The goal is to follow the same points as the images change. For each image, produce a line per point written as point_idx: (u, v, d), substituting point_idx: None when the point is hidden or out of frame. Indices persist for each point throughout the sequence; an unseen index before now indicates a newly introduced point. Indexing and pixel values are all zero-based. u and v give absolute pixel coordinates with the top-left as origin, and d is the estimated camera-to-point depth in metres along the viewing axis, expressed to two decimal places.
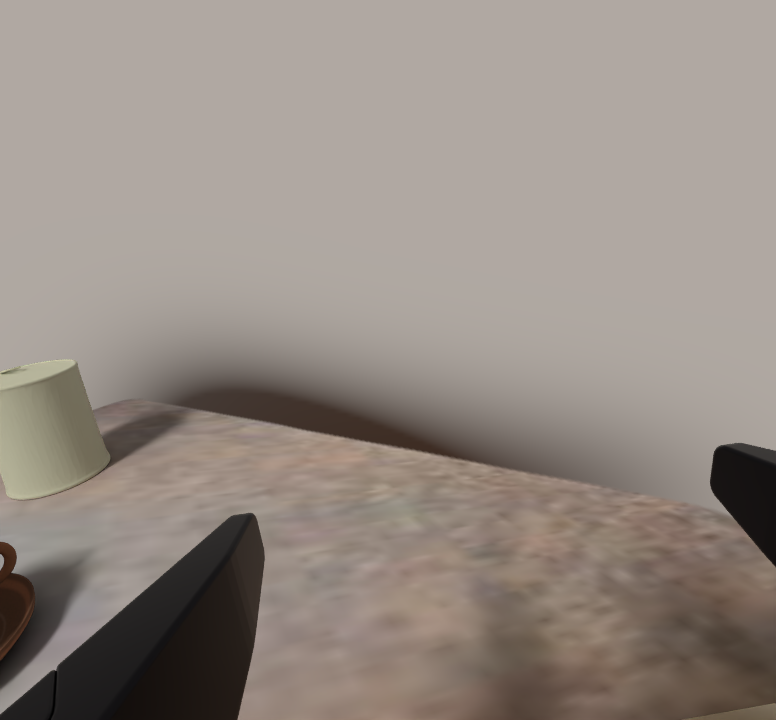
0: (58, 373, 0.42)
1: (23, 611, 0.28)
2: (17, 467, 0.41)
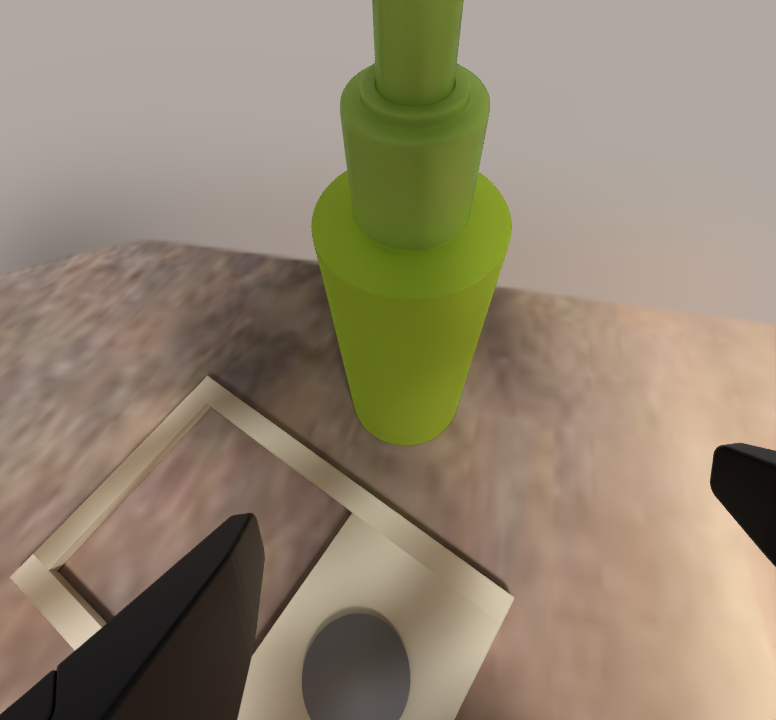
0: None
1: None
2: None
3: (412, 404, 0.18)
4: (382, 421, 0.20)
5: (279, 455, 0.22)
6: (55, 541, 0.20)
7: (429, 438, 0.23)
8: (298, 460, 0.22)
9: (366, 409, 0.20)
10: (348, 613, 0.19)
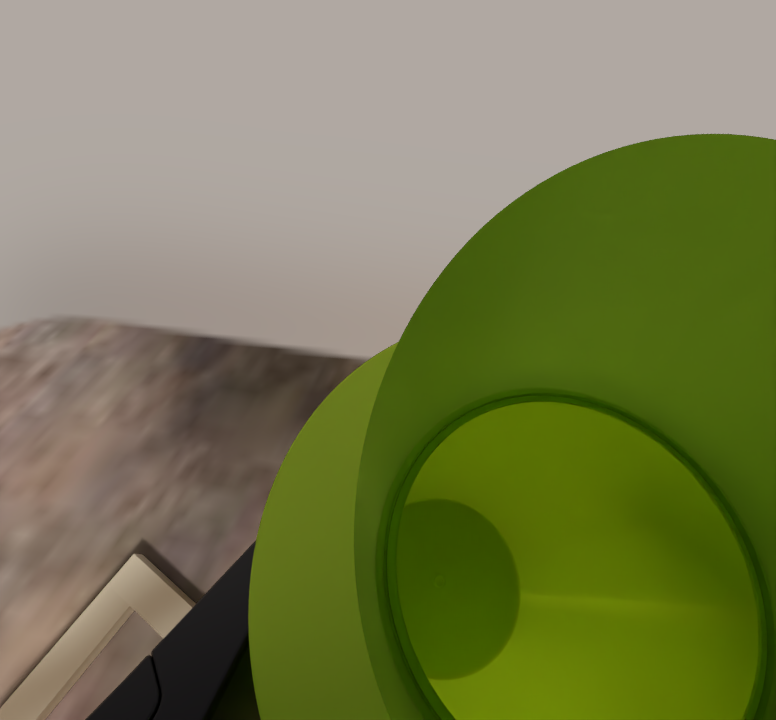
0: None
1: None
2: None
3: None
4: None
5: None
6: None
7: (482, 672, 0.14)
8: None
9: None
10: None
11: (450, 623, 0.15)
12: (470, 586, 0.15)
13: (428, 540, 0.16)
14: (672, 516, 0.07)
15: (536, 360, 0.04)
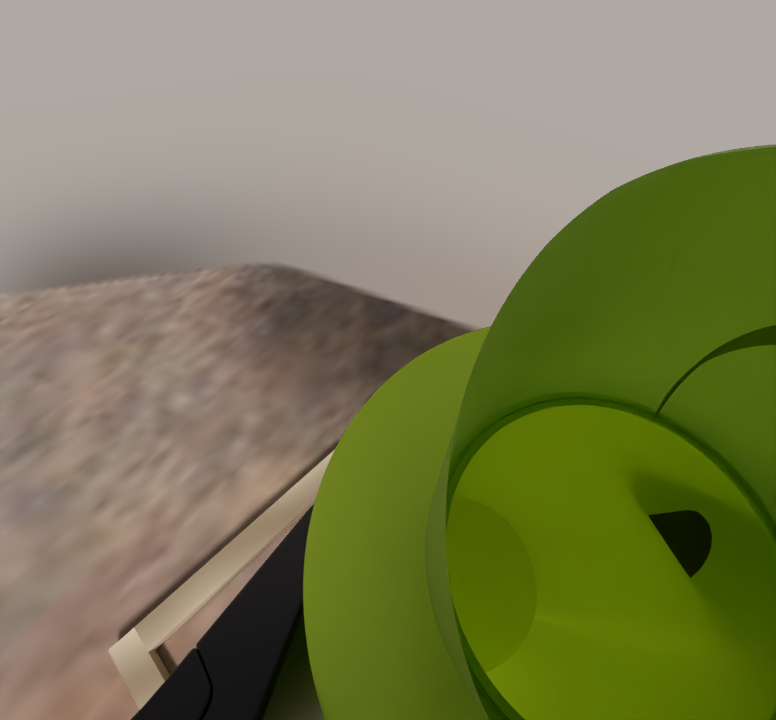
0: None
1: None
2: None
3: None
4: None
5: None
6: (158, 618, 0.18)
7: (500, 668, 0.14)
8: None
9: None
10: None
11: (467, 620, 0.15)
12: (487, 583, 0.16)
13: None
14: None
15: (575, 366, 0.04)
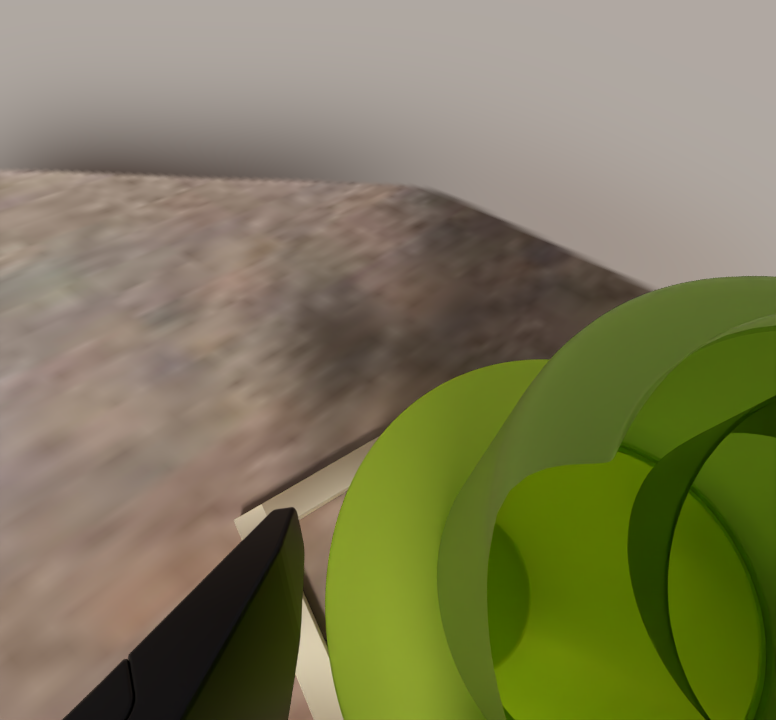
0: None
1: None
2: None
3: None
4: None
5: None
6: (287, 500, 0.17)
7: (495, 672, 0.15)
8: None
9: None
10: None
11: None
12: None
13: None
14: (681, 534, 0.07)
15: None
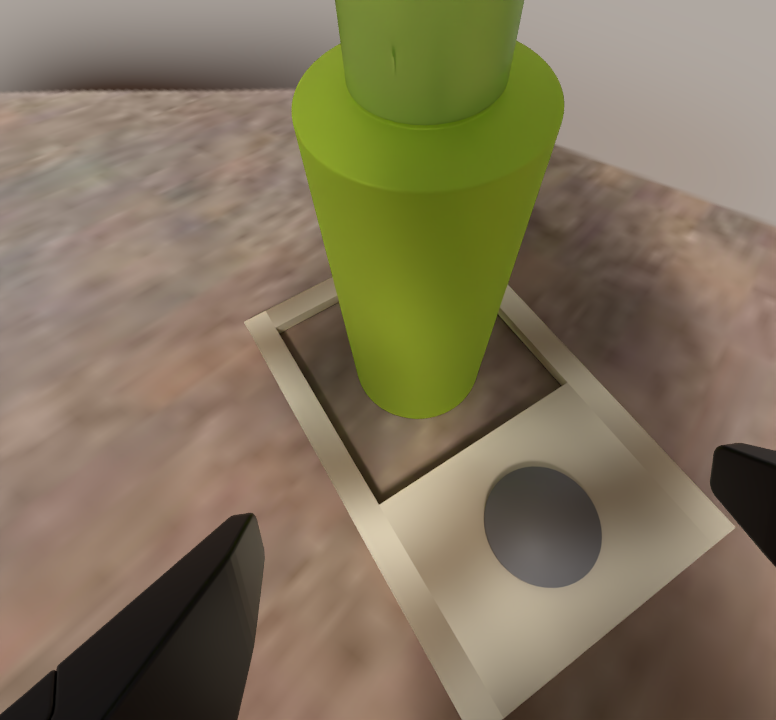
0: None
1: None
2: None
3: (428, 362, 0.15)
4: (393, 388, 0.17)
5: (502, 307, 0.21)
6: (285, 307, 0.22)
7: (447, 409, 0.19)
8: (521, 318, 0.21)
9: (373, 375, 0.17)
10: None
11: None
12: None
13: None
14: None
15: None
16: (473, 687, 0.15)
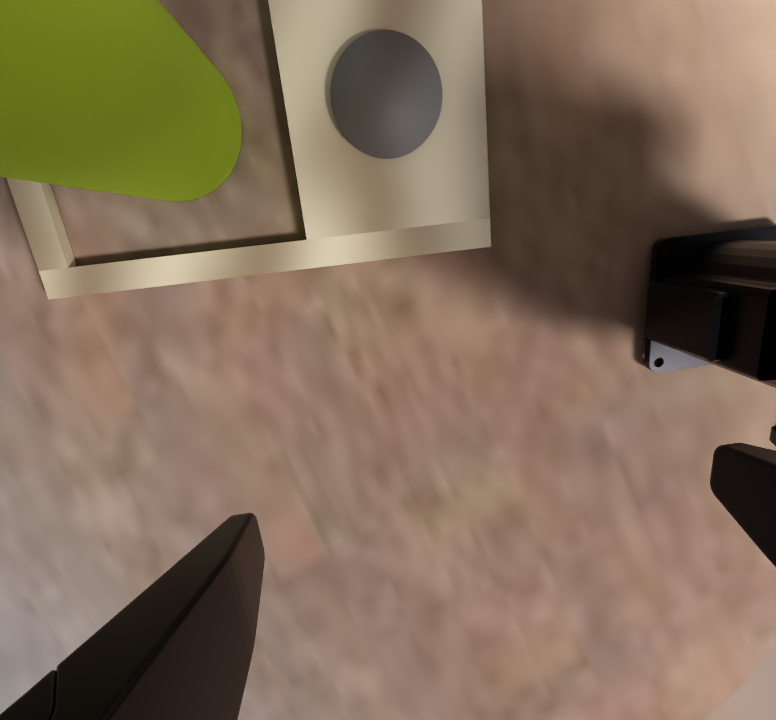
0: None
1: None
2: None
3: (188, 120, 0.12)
4: (198, 172, 0.15)
5: None
6: (40, 246, 0.18)
7: (239, 122, 0.17)
8: None
9: (175, 186, 0.15)
10: (340, 57, 0.17)
11: None
12: None
13: None
14: None
15: None
16: (463, 229, 0.19)
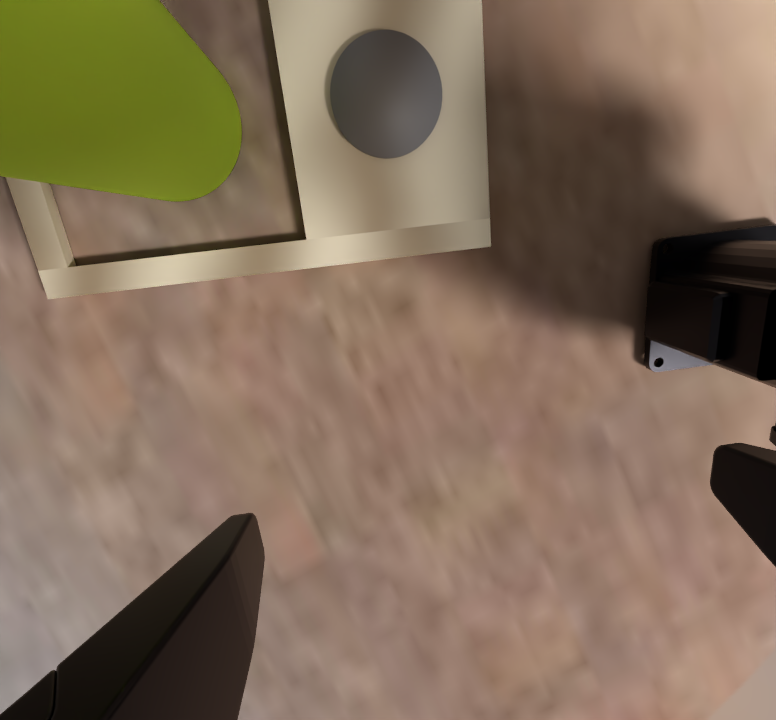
0: None
1: None
2: None
3: (189, 120, 0.12)
4: (198, 171, 0.15)
5: None
6: (40, 246, 0.18)
7: (238, 121, 0.17)
8: None
9: (175, 186, 0.15)
10: (340, 56, 0.17)
11: None
12: None
13: None
14: None
15: None
16: (463, 229, 0.19)
